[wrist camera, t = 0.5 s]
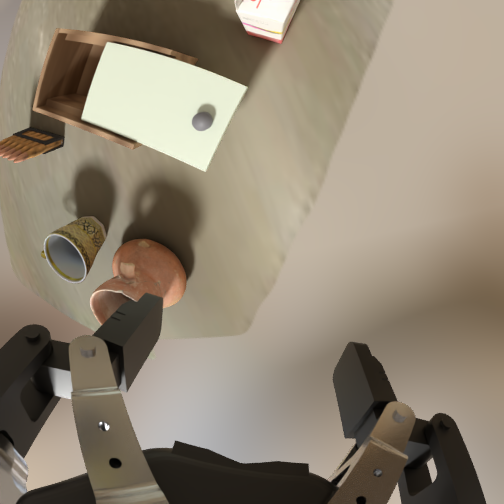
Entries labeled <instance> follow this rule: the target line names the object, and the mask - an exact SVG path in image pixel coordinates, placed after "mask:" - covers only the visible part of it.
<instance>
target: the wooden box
mask: <svg viewBox="0 0 504 504" xmlns="http://www.w3.org/2000/svg"><path fill="white" fill-rule="evenodd" d="M107 42H112V43H117V44H121V45H126V46H130V47H134V48H138V49H142V50H146V51H150V52H153V53H157V54H160V55H164V56H167V57H170V58H173V59H176V60H179V61H183V62H185V63H188V64H191V65H194V66H195V65H196V63H197V61H198V59H197V58H194V57H191V56H188V55H185V54H182V53H179V52H176V51H173V50H170V49H167V48H163V47H160V46H156V45H152V44H148V43H144V42H140V41H136V40H132V39H127V38H122V37H117V36H112V35H107V34H101V33H94V32H87V31H79V30H70V29H59V28H56V30H55V33H54V35H53V38H52V41H51V44H50V46H49V49H48V52H47V55H46V58H45V62H44V65H43V68H42V72H41V75H40V79H39V83H38V87H37V91H36V95H35V100H34V104H33V109H32V110H33V111H36V112H38V113H41V114H44V115H47V116H49V117H52V118H55V119H58V120H60V121H63V122H66V123H68V124H71V125H73V126H76V127H79V128H81V129H84V130H86V131H89V132H91V133H94V134H96V135H99V136H101V137H104V138H106V139H109V140H111V141H114V142H116V143H118V144H121V145H123V146H126V147H128V148H130V149H135V148H137V147H139V146H141V145H143V144H141V143H139V142H137V141H134V140H132V139H129V138H127V137H124V136H122V135H119V134H117V133H114V132H112V131H109V130H107V129H104V128H102V127H99V126H96V125H94V124H91V123H89V122H86V121H83V120H81V118H82V114H83V110H84V107H85V103H86V100H87V96H88V93H89V90H90V87H91V84H92V81H93V78H94V75H95V72H96V69H97V66H98V64H99V61H100V58H101V56H102V53H103V51H104V48H105V46H106V43H107Z"/></svg>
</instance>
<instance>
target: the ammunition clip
mask: <svg viewBox="0 0 504 504" xmlns="http://www.w3.org/2000/svg"><path fill="white" fill-rule="evenodd" d="M63 144H64V137H63V136H60V135H56V134H53V133H49V132H46V131H42V130H38V129H35V128H31V127H30V128H27V129H25V130H22V131H20V132H17V133H15V134H13V136H11V137H8V138H6V139H4V140H2V141H1V142H0V156H2V155H3V156H2V158H8V157H9V158H8V160H14V159H15V160H14V161H13V162H14V163H17V162H21V161H24V160H26V159H29V158H33V157H35V156H38V155H40V154H46V153H48V152H51V151H53V150H56V149H58V148H61V147H63Z"/></svg>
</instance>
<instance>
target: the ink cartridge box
mask: <svg viewBox="0 0 504 504" xmlns="http://www.w3.org/2000/svg"><path fill="white" fill-rule="evenodd" d="M299 2H300V0H235V7H236V12H237V14H238V16H239V18H240V20H241V22H242V24H243V25H244V27H245V29H246V31H247V33H248V35H252V36H256V37H259V38H263V39H266V40H270V41H273V42H276V43H279V44H281V43H282V41H283V39H284V36H285V34H286V31H287V29H288V27H289V24H290V22H291V20H292V18H293V15H294V13H295V11H296V9H297V6H298V4H299Z"/></svg>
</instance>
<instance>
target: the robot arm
mask: <svg viewBox="0 0 504 504" xmlns="http://www.w3.org/2000/svg"><path fill="white" fill-rule="evenodd" d="M162 312H163V298H162V297H159V296H156V295H153V294H150V293H145V294H144V295H143V296H142V297H141V298H140V299H139V300H138V301H137V302H136V301H133V300H131V301H128V302H126V303H124V304H122V305H121V306H120V307H119V308H118V309H117V310H116V312H114V313H113V314H112V315H111V317H110V318H108V319H107V320H106V321H105V322H104V324H103V325H102V326H101V327H100V328H99V329H98V330H97V331H96V332H95V333H94V334H93V335H92V336H90V335H86V336H80V337H77V338H75V339H74V340H73V341H72V342H71V343H65V342H60V341H55V340H51V337H50V332H49V331H48V330H47V329H46V328H45V327H43V326H41V325H28V326H25V327H23V328H22V329H21V330H19V331H18V332H17V333H16V334H15V335H14V336H13V337H12V338H11V339H10V340H9V341H8V342H7V343H6V344H5V345H4V346H3V347H2V348H1V349H0V504H387V503H388V500H389V499H390V497H391V494H392V493H393V491H394V489H395V487H396V485H397V482H398V486H399V491H400V497H401V503H402V504H486V501H485V498H484V494H483V492H482V488H481V486H480V483H479V480H478V477H477V474H476V471H475V468H474V466H473V463H472V461H471V458H470V455H469V453H468V450H467V448H466V445H465V443H464V441H463V438H462V436H461V434H460V431H459V429H458V427H457V425H456V423H455V421H454V420H453V419H452V418H451V417H450V416H448V415H446V414H443V413H438V414H435V415H434V416H433V418H432V419H431V420H430V421H426V420H422V419H418V418H416V417H415V414H414V412H413V410H412V409H411V408H410V407H409V406H408V405H406V404H404V403H402V402H398V401H397V399H396V396H395V394H394V392H393V389H392V387H391V385H390V382H389V381H388V378H387V376H386V374H385V371H384V369H383V366H382V365H381V363H380V362H379V361H378V360H377V359H376V358H375V357H374V356H372V355H371V352H370V350H369V348H368V346H367V345H366V344H363V343H356V342H349V343H348V344H347V346H346V348H345V350H344V352H343V354H342V356H341V358H340V360H339V362H338V364H337V366H336V368H335V370H334V374H333V383H334V388H335V392H336V397H337V401H338V406H339V411H340V416H341V421H342V426H343V431H344V437H345V438H355V439H356V443H355V444H354V445H353V446H352V448H351V449H350V451H349V452H348V453H347V455H346V456H345V458H344V459H343V460H342V462H341V463H340V465H339V466H338V467H337V469H336V470H335V471H334V473H333V474H332V475H331V476H330V477H329V478H328V479H327V480H326V479H324V478H322V477H320V476H318V475H316V474H313V473H309V466H308V464H305V463H291V462H280V461H275V462H264V463H247V464H243V463H239V462H237V461H234V460H232V459H229V458H226V457H224V456H222V455H220V454H217V453H215V452H213V451H211V450H209V449H205V448H200V447H197V446H193V445H189V444H186V443H182V442H179V441H175V443H174V446H173V448H153V449H146V450H141V447H140V445H139V442H138V440H137V437H136V435H135V432H134V430H133V427H132V424H131V421H130V419H129V415H128V413H127V410H126V407H125V404H124V400H123V397H122V394H121V391H120V390H122V391H124V392H127V391H128V389H129V388H130V386H131V384H132V383H133V381H134V379H135V378H136V376H137V374H138V372H139V371H140V369H141V367H142V366H143V364H144V362H145V361H146V359H147V357H148V356H149V354H150V352H151V351H152V349H153V347H154V346H155V344H156V342H157V341H158V339H159V336H160V332H161V325H162ZM61 397H63V398H68V399H72V406H73V412H74V418H75V423H76V428H77V433H78V438H79V442H80V447H81V451H82V455H83V458H84V462H85V466H86V469H87V473H85V474H82V475H79V476H76V477H74V478H71V479H68V480H65V481H62V482H59V483H55V484H52V485H48V486H45V487H41V488H38V489H34V490H31V491H28V492H27V489H26V482H27V477H28V467H27V464H26V462H25V460H24V457H25V456H26V454H27V452H28V450H29V449H30V447H31V445H32V443H33V442H34V440H35V438H36V437H37V435H38V433H39V432H40V430H41V428H42V427H43V425H44V423H45V422H46V420H47V419H48V417H49V415H50V414H51V412H52V411H53V409H54V408H55V406H56V404H57V403H58V401H59V400H60V398H61ZM432 457H433V459H434V462H435V465H436V469H437V477H436V479H435V481H434V482H433V483H432V480H431V477H430V473H429V470H428V466H427V462H428V461H429V460H430V459H431V458H432Z"/></svg>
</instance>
